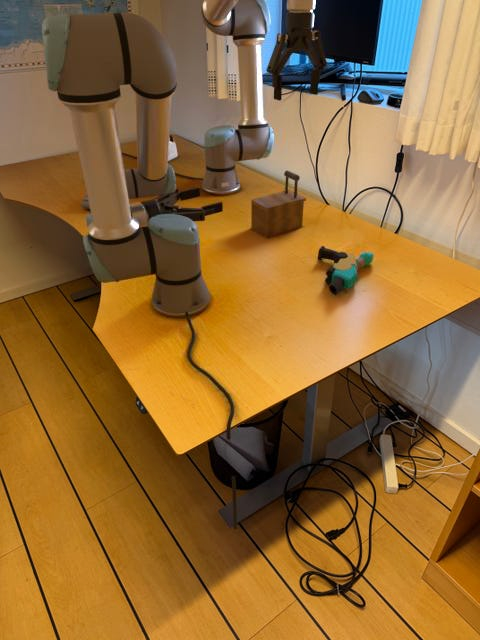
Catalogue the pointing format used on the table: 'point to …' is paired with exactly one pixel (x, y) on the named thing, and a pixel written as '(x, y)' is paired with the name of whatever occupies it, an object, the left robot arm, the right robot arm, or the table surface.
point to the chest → (276, 219)
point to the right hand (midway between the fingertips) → (295, 96)
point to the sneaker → (172, 148)
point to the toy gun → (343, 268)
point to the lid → (281, 196)
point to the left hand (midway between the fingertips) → (210, 198)
